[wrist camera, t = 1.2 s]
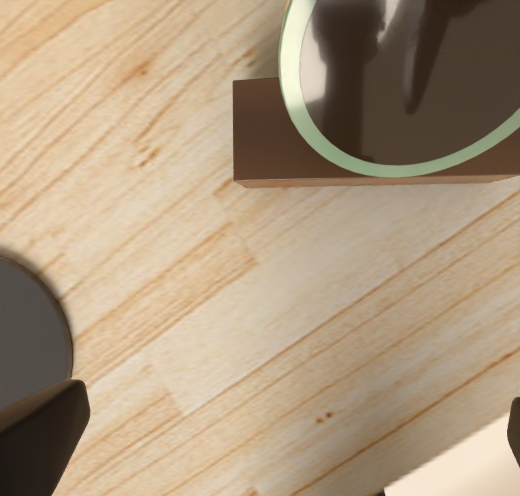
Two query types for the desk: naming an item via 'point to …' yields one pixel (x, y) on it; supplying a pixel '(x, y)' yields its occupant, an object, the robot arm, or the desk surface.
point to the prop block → (318, 167)
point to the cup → (401, 80)
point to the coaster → (30, 335)
